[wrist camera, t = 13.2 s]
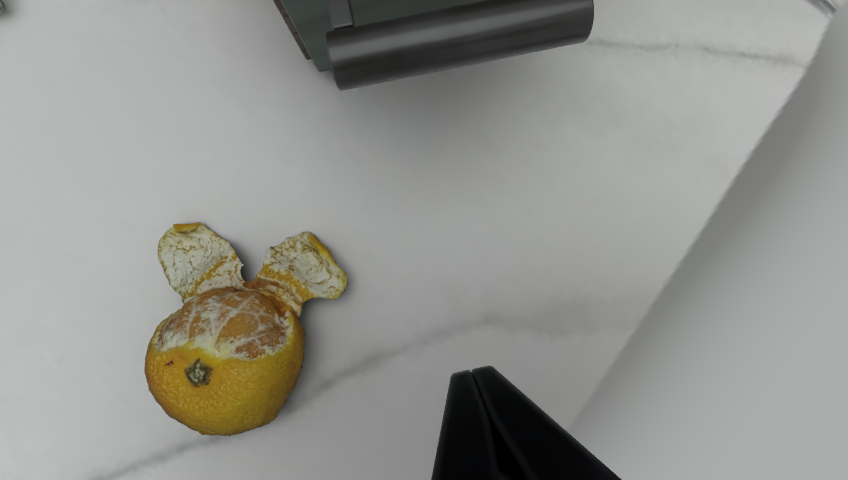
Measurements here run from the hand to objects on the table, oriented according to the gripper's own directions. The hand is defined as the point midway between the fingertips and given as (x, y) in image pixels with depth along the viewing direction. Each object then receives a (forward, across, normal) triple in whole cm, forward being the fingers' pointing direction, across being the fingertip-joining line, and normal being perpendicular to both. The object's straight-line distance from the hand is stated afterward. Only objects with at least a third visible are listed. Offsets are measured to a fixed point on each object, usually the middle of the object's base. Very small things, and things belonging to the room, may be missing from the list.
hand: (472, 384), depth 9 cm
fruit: (+10, +7, +3) cm, 13 cm away
